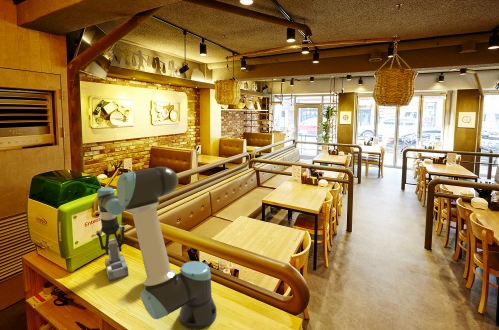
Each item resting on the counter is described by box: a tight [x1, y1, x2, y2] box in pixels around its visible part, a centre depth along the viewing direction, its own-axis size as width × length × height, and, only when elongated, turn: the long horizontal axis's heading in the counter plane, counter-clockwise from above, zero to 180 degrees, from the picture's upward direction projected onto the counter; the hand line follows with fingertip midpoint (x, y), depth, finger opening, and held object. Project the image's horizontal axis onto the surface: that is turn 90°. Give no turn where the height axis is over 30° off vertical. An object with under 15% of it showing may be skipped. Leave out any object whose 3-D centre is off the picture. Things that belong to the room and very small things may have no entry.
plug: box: [108, 238, 119, 264], centre depth 149 cm, size 4×4×13 cm
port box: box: [104, 254, 130, 283], centre depth 148 cm, size 14×9×5 cm, turn 33°
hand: (114, 258), depth 150 cm, fingers closed on plug, 4 cm apart
